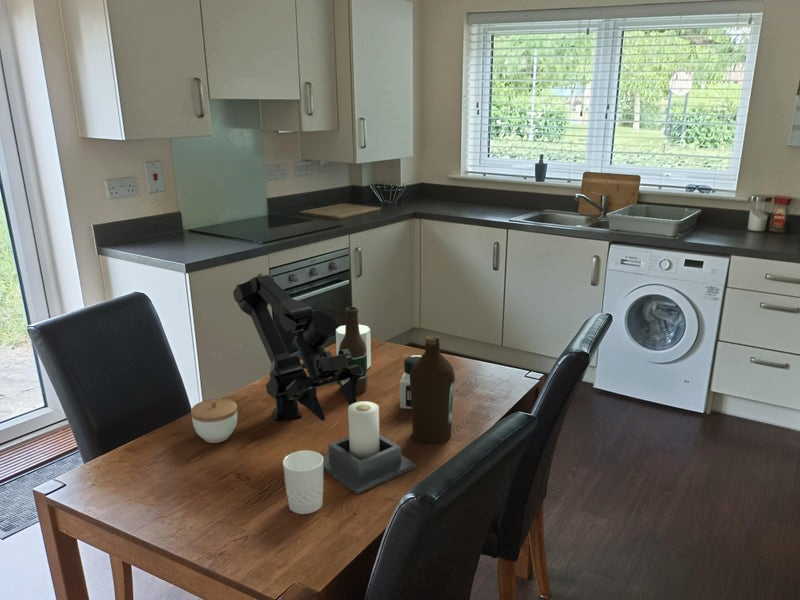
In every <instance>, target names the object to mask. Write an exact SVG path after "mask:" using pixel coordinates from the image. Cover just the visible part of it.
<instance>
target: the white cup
mask: <svg viewBox="0 0 800 600" xmlns="http://www.w3.org/2000/svg"><path fill="white" fill-rule="evenodd" d="M323 456H324V455H322V454H321V453H320V452H317V451H314V450H300V451H299V450H298V451H294V452H292V453H289V454H288V455H286V456H285V457H284V458H283V461H282V468H283V474H284V475H283V476H284V483H285V485H284V486H285V493H286V497H287V505H288V508H289V510H290V511H291V512H293V513H294V514H300V515H308V514H312V513H315V512H317V511H318V510H319V509H321V508H322V506H323V503H324V500H323V498H324V497H323V496H324V494H323V493H324V470H323Z"/></svg>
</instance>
